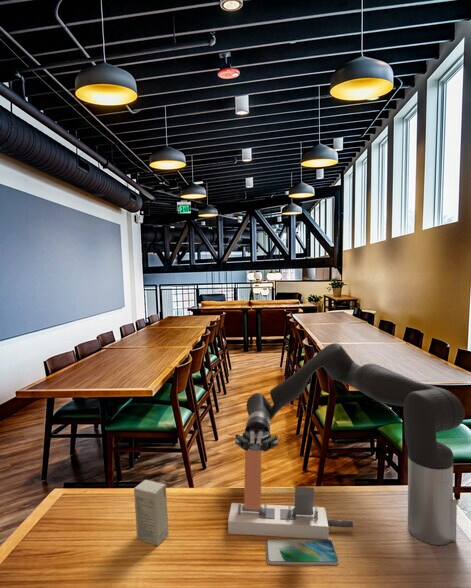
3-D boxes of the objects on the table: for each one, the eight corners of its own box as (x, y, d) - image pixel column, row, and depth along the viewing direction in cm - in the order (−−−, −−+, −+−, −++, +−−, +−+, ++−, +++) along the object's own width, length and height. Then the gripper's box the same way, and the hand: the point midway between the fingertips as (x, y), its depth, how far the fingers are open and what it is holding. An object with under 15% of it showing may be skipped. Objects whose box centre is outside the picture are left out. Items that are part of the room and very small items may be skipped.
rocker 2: (312, 509, 91) (315, 487, 82) (313, 516, 90) (316, 495, 80) (292, 508, 91) (293, 486, 82) (292, 515, 90) (293, 494, 81)
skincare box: (169, 534, 89) (167, 484, 88) (158, 546, 85) (156, 494, 84) (147, 527, 92) (145, 478, 91) (135, 538, 88) (133, 487, 87)
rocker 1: (262, 512, 92) (262, 451, 98) (262, 512, 90) (262, 450, 96) (242, 511, 92) (244, 450, 98) (242, 511, 91) (243, 450, 97)
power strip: (349, 520, 93) (349, 501, 92) (355, 540, 86) (355, 520, 85) (231, 514, 96) (231, 496, 96) (228, 533, 89) (227, 513, 89)
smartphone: (265, 538, 87) (331, 538, 86) (265, 542, 87) (332, 542, 86) (266, 562, 79) (339, 562, 79) (267, 566, 79) (339, 566, 79)
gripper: (279, 439, 118) (279, 469, 101) (237, 438, 119) (230, 467, 102) (279, 416, 117) (279, 441, 100) (236, 415, 119) (229, 440, 102)
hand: (254, 454), depth 101 cm, fingers closed
